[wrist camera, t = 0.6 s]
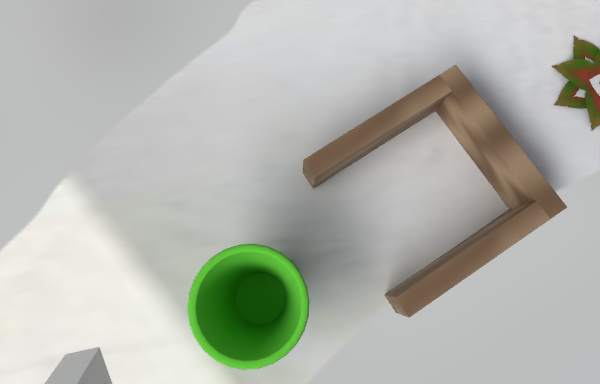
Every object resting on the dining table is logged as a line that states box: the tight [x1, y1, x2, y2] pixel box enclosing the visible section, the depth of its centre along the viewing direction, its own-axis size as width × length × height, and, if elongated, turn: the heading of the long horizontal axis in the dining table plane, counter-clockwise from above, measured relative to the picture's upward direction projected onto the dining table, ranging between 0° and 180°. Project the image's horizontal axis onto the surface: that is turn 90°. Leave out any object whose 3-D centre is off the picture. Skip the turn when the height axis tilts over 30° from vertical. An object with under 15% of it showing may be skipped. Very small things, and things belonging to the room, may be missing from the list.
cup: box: [188, 244, 309, 369], centre depth 36 cm, size 9×9×11 cm
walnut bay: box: [303, 65, 567, 317], centre depth 42 cm, size 17×18×5 cm
